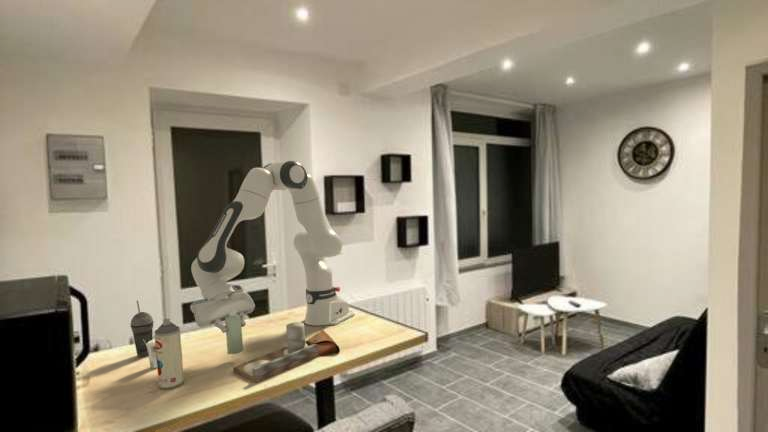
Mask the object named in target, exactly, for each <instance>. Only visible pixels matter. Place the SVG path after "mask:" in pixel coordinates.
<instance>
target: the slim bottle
mask: <svg viewBox="0 0 768 432" xmlns="http://www.w3.org/2000/svg"><path fill="white" fill-rule="evenodd" d="M224 323H225V324H224V326H225V325H227V328H228V331H227V332H225V334H226V335H225V337H226V348H227V354H229V355H235V354H237V355H238V354H240V353H242V352H244V344H243V343H244V342H243V340H244V339H243V330H242V329H243V327H241V315H240V314H236V310H229V316H227V317H225V321H224Z"/></svg>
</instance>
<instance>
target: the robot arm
mask: <svg viewBox="0 0 768 432" xmlns="http://www.w3.org/2000/svg"><path fill="white" fill-rule="evenodd" d="M238 190H239V191H238V193H237V194H236V197H235V198H234V199H233V200H232V201H231V202H229V203H228V205H227V206H226V207H225V208H224V210H223V212H222V213H221V215H220V217H219V219H218V220H217V222H216V224H215V226H214V228H213V230H212V231H211V232H210V235H209V236H208V238H207V240H206V241H205V242H204V243H203V245H202V246H201V247H200V249H199V250H198V252H197V257H196V258H195V259H194V260H193V261H192V263H191V267H190V268H191V274H192V278H193V279H194V281H195V284H196V285H197V287H198V288H199V289H200V293H201V296H202V298H203V299H200V300H195V301H193V302H192V303H191V304H190V306H189V308H190V311H191V313H192V314H193V317H194V319H195V320H194V321H195V324H196V325H197V327H199V328H205V327H208V326H211V325H214V326H215V327H216V328H218V329H219V330H221V333H223V334H224V333H225V334H226V332H227V331H228V328H227V325H225V324H223V323H222V322H225V317H227V316H229V310H236V314H240V315H241V327H242V328H243V327H244V328H245V326H246V325H247V324H246V321H245V316H246V315H248V314H251V313H253V311H254V310H255V308H256V304H255V302H254V300H253V298H252V297H251V295H250V294H249V293H248V292H247V291H245V287H244V286H243V285H242V284H232V283H231V284H230V283H227V282H228V281H230V280H232V279H234V278H236V277H237V276H238V275H240V274H241V273H242V271H243V270H244V268H245V264H246V263H245V262H246V261H245V257H244V256H243V254H242V253H240V252H238V251H237V250H234V249H231V248H229V247H228V246H227V245H228V243H229V242H228V241H229V239H230V238H231V236H232V234H233V233H234V230H235V228H236V227H237V225H238V224H239V223H240V222H242V221H247V220H250V221H251V220H254V219H257V218H259V217H261V216H262V215H263V213H264V212H265V210H266V208H267V205H268V203H269V201H270V198H271V194H272V192H273V191H274V190H276V191H279V190H280V191H284V190H288V191H289V193H290V194H291V200H292V204H293V207H294V211H295V214H296V219H297V221H298V223H299V224H300V225H301V226H303V228H304V229H305V230H301V231H299V232H297V233H296V234H295V236H294V238H293V247H294V249H295V250H296V252H297V253H298V254H299V256H300V259H301V261H302V264H303V267H304V272H305V285H306V289H305V299H306V312H305V318H304V324H306V325H308V326H309V325H310V326H316V327H317V326H318V327H319V326H330V325H331V326H332V325H333V326H335V325H338V324H340V323H342V322H343V321H345V320H347V319H350V318H351V317H353V316H355V312H354V311H353V310H350V307H349V303H348V301H347V300H345V299H344V298H342V297H341V296H339V295H338V294H337V293H336V292H340V291H341V287H340V286H333V270H332V267H331V266H330V265H329V264H328V262H327V260H326V258H332V257H336V256H338V255H339V254H341V251H342V249H343V242H342V241H343V240H342V238H341V236H340V235H339V234H337V233H336V231H335V230H334V229H333V228H332V227H331V225H330V223H329V221H328V220H327V218H326V215H325V213H324V210H323V206H322V201H321V198H320V193H319V191H318V190H319V189H318V187H317V185H316V182H315V180H314V178H313V176H312V175H311V174H309V173H307V170H306V169H305V167H304V166H303V165H302V164H301V162H298V161H295V160H279V161H277V162H273V163H268V164H266V165H264V166H263V167H253V168H252V169H250V170H249V172H248V173H247V175H246V176H245V178H244V179H243V182H242V183H241V185H240V188H239V189H238Z"/></svg>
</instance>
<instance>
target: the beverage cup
mask: <svg viewBox="0 0 768 432" xmlns="http://www.w3.org/2000/svg"><path fill="white" fill-rule="evenodd" d="M136 304H137V313H136V314H135V315H134V316H132V318H131V320H130V327H131V332H132V336H133V340H134V341H133V342H134V346H135V351H136V355H137V358H139V359H143V358H147V357H148V358H149V356H148V351H147V346H146V344H147V343H148V342H149V341H151V340H153V331H154V330H153V328H154V323H155V321H154V319H153V316H152V315H151V314H150V313H149V312H145V311H142V312H141V309H140V303H139V300H136ZM143 339H144V340H143ZM144 341H145V342H144Z"/></svg>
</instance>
